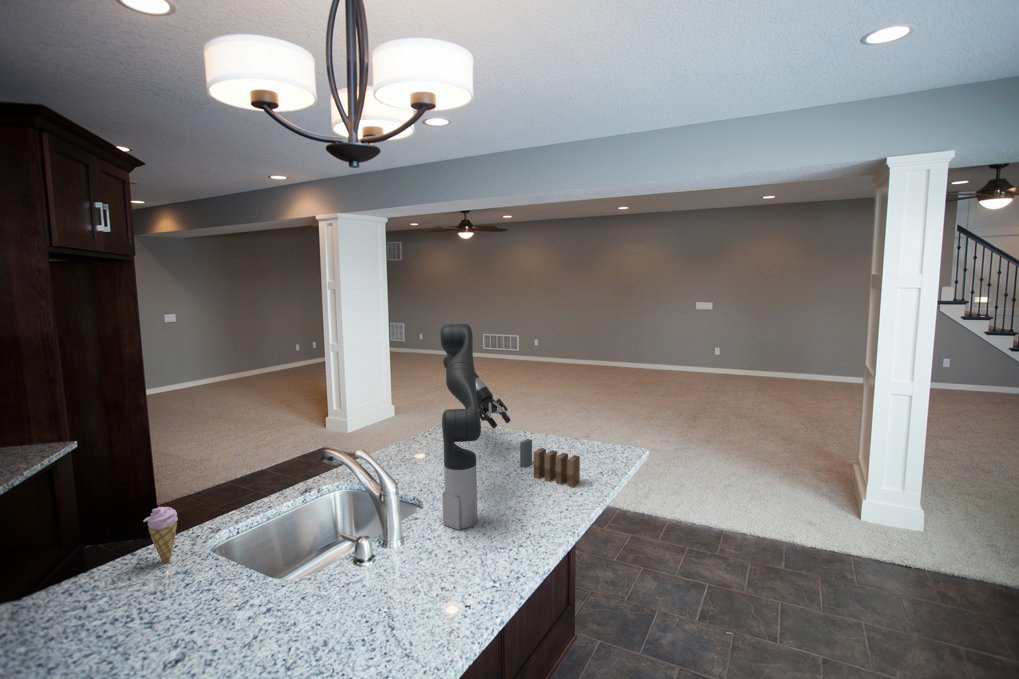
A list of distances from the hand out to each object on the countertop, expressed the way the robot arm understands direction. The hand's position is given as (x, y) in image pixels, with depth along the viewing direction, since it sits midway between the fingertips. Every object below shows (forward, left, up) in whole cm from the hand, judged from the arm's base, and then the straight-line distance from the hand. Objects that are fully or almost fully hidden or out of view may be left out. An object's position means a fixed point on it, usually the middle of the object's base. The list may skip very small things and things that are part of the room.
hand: (502, 424), depth 197 cm
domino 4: (-6, -30, -14) cm, 34 cm away
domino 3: (-6, -25, -14) cm, 30 cm away
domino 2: (-6, -21, -14) cm, 26 cm away
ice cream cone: (-107, +26, -14) cm, 111 cm away
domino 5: (-6, -34, -14) cm, 38 cm away
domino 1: (0, -11, -14) cm, 18 cm away
